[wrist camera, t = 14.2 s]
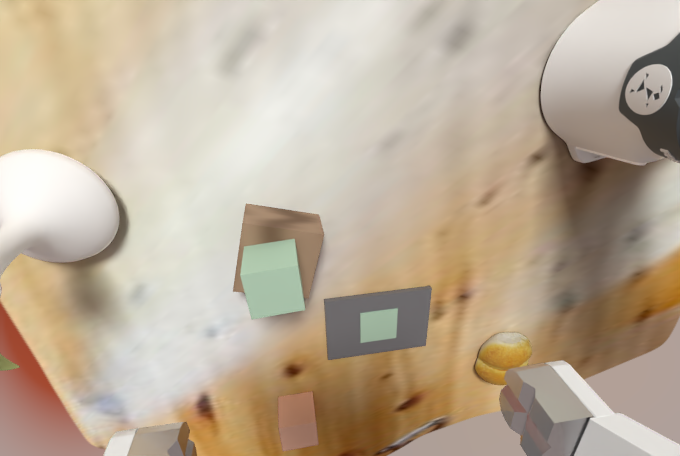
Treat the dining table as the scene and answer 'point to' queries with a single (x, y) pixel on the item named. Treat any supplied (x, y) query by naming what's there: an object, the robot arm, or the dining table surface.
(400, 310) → the card
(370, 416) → the dining table surface
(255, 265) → the green block
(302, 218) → the walnut base block
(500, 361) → the bread roll
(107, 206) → the flower in vase
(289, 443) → the terracotta block
